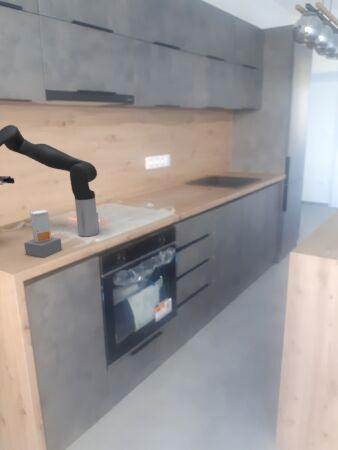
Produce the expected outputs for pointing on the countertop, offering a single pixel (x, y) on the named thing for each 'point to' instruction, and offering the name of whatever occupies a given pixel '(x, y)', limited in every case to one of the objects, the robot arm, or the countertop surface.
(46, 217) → the skincare box
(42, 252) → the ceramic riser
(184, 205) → the countertop surface
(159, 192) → the countertop surface
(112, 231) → the countertop surface
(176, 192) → the countertop surface
